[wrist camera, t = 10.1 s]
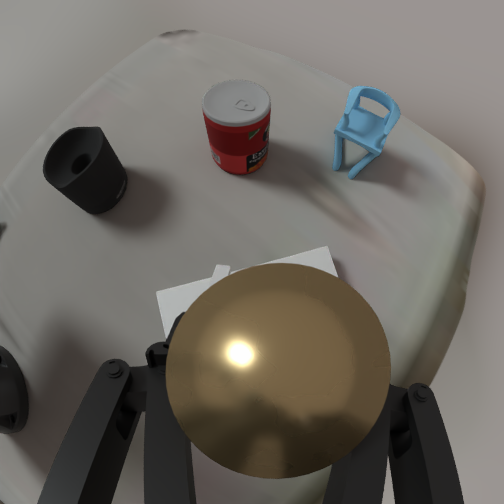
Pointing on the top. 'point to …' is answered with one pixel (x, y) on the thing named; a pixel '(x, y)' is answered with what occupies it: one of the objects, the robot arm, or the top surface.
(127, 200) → the top surface
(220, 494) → the top surface
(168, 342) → the robot arm
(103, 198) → the pen holder
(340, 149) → the chair
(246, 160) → the canned food
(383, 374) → the brass ball knob
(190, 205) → the top surface
